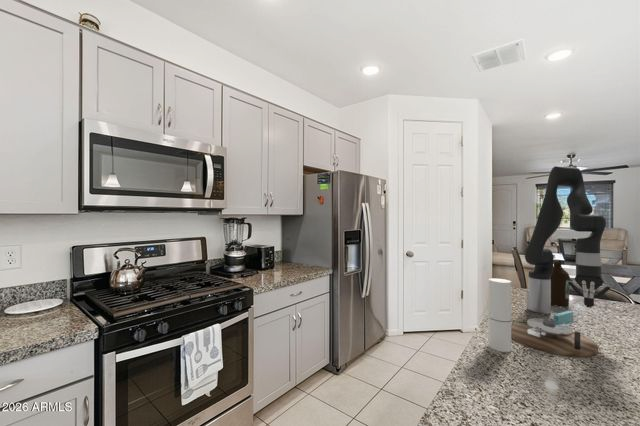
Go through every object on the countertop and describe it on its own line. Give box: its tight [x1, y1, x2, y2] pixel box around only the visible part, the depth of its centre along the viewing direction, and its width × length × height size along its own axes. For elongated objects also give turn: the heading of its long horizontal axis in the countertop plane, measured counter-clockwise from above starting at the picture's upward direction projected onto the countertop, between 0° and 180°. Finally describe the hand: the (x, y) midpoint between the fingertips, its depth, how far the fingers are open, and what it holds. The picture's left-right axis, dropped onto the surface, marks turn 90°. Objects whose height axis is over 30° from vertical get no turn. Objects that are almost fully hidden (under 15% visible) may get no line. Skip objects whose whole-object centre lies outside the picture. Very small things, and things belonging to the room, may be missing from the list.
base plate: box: [511, 322, 599, 358], centre depth 113 cm, size 28×28×8 cm
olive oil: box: [551, 259, 571, 307], centre depth 160 cm, size 11×11×25 cm
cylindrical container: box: [488, 277, 512, 353], centre depth 107 cm, size 7×7×25 cm
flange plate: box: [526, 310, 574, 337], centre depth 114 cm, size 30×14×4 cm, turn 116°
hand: (589, 307), depth 114 cm, fingers closed
